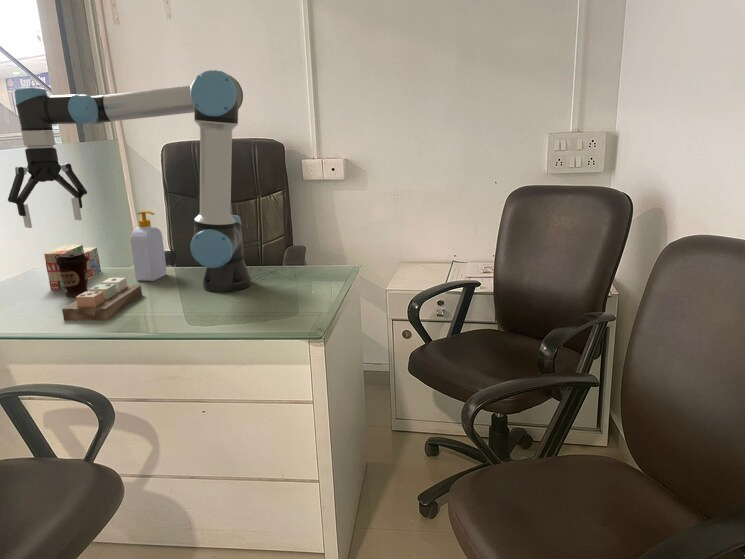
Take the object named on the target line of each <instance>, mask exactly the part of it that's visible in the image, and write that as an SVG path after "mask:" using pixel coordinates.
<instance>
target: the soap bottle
mask: <svg viewBox="0 0 745 559" xmlns="http://www.w3.org/2000/svg"><path fill="white" fill-rule="evenodd" d="M147 214H149V215H152V216H154V215H155V212H152V211H149V210H145V211H141V212H138V213H137V215H141V219H140V220H138V223H139V226H137V227H135V228H134V229H133V230H132V231H131V234H130V245H131V252H132V254H131V255H132V261H133V267H134V274H135V280H136V281H141V282H142V281H145V282H147V281H148V282H155V281H156V280H159V279H160V278H162V277H164V276H167V273H168V272H167V271H168V270H167V264H166V256H165V255H166V254H165V246H164V241H163V240H164V238H163V234H162V230H160V228H158V227H156V226H155V227H153V226H152V224H151V219H147Z"/></svg>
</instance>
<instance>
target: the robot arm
mask: <svg viewBox="0 0 745 559" xmlns="http://www.w3.org/2000/svg"><path fill="white" fill-rule="evenodd" d="M14 99H15V107H16V111H17V114H18V119H19V124H20V130H21V137H22V142H23V146H24V147H26V148H25V149H24V151H25V158H26V162H27V167H26V166H25V167H22V166H16V167H15V168H14V171H15V177H14V179H13V182H12V186H11V187H10V191H9V194H8V198H7V201H8V203H13V204H16V207H17V212H18V215H19V216H20V217H22V218H23V223H24V228H27V229H32V228H33V225H32V219H31V214H30V210H29V205H28V203H25V202H26V201H27V199H28V198H29V196H30V195H31V193H32V192H33V190H34V189H35V187H36V185H38V184H39V183H45V182H54V181H55V182H57V183H58V184H59V185H61V186H62V188H64V189H65V190H66V191H67V192H68V193H70V194H71V195H72V196H73V197H70V199H71V200H70V201H71V204H72V205H71V206H72V210H73V211H72V212H73V217H74V220H76V221H82V220H83V218H82V213H81V209H82V208H83V202H82V198H83V196H85V195H87V194H88V191H87V189H86V187H84V185H83V184H82V182H81V181H80V180H79V178H78V177H77V175H76V174H75V172H74V171H73V168H72V165H71V163H67V162H64V163H62V164H60V163H59V156H58V150H57V148H56V147H54V146H55V145H56V140H55V133H54V129H53V125H79V124H80V125H87V124H88V125H89V124H92V125H98V124H99V125H100V124H103V123H109V122H118V121H119V122H120V121H127V120H136V119H146V118H156V117H164V116H176V115H181V114H183V115H185V114H193V113H194V122H195V123H196V124H197V125H198V126H199V132H200V134H199V138H200V139H199V213H198V215H196V217H194V221H193V236H192V239H191V242H190V245H189V246H190V247H189V248H190V252H191V255H192V257H193V259H194V260H195V261H196V262H197V263H198V264H200V265H201V266H204V267H205V270H204V276H203V279H202V280H203V281H202V285H203V289H204V290H206V291H209V292H215V293H219V292H220V293H223V292H224V293H227V292H235V290H236V291H239V289H240V290H243V288H244V289H246V288H249V287H250V286H251V285H252V277H251V273H250V272H249V270H248V267H247V265H246V263H245V258H244V256H245V255H244V245H243V244H244V243H243V233H242V232H243V231H242V226H243V225H242V224H243V223H242V222H241V217H240V216H239V215H237V214H236V215H235V214H231V209H232V208H231V205H232V204H231V203H232V198H231V196H232V157H233V156H232V155H233V153H232V151H233V150H232V149H233V147H232V146H233V130H234V129H235V128H236V127H237V126H238V125H239V109H240V108H241V106H242V104H243V101H244V92H243V89H242V86H241V84H240V83H239V81H238V80H237V79H236V78H234V77H233V76H232V75H230V74H228V73H226V72H224V71H221V70H217V69H215V70H213V69H211V70H209V69H208V70H205V71H203V72H201V73H200V74H199V73H198V75H197V76H196V77H195V78H194V79H193V81H192V83H191V85H186V86H185V85H183V86H175V87H167V88H158V89H149V90H148V89H147V90H140V91H139V90H138V91H129V92H128V91H127V92H122V93H121V92H120V93H114V94H113V93H112V94H105V95H103V94H101V95H100V94H99V95H89V94H82V93H81V94H79V93H76V94H58V95H49V94H48V93H47V90H46V89H45V88H43V87H18V88H16V89H14ZM61 170H62V171H63V172H64V173H65V174H66V176H67V178H68V179H69V181H70V182H71V183H72V184H70V183H69V182H68V181H67V180H66V179H65V178H64V177H63V176H62V175H61V174H60V172H61ZM27 173H29V175H30V177H29V178H28V179H27V180H28V181H27V182H26V184H25V185H24V187H23V189H22V190H21V188H22V185H23V182H24V179H25V175H27ZM250 284H251V285H250ZM249 285H250V286H249ZM245 287H246V288H245Z"/></svg>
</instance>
